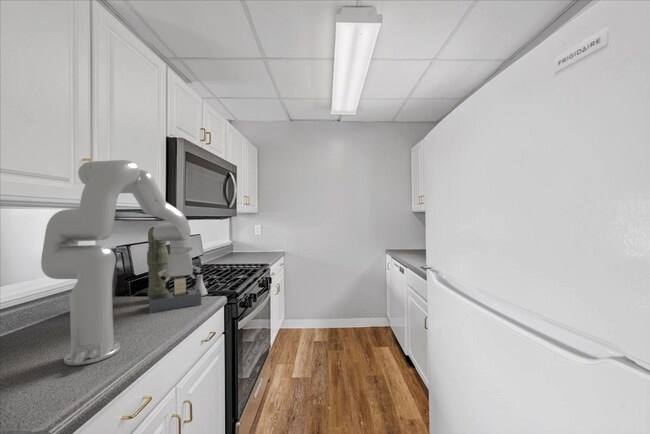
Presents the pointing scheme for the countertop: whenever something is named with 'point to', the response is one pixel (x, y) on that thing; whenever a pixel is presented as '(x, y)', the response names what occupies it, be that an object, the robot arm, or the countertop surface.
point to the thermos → (156, 264)
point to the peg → (179, 286)
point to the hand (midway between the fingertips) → (180, 288)
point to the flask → (200, 285)
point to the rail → (174, 300)
